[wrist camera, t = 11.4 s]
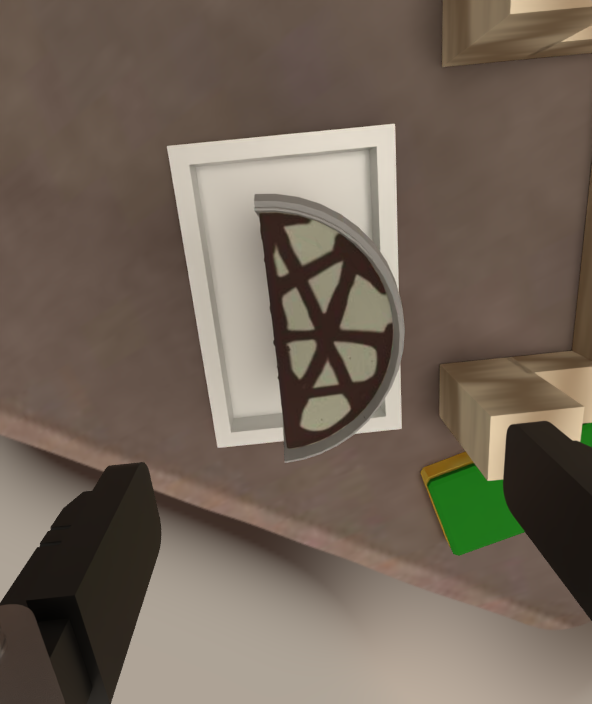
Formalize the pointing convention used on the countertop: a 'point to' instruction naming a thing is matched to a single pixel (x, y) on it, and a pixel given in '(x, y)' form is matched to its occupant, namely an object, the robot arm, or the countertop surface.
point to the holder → (588, 341)
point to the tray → (248, 255)
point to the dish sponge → (472, 502)
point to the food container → (327, 322)
